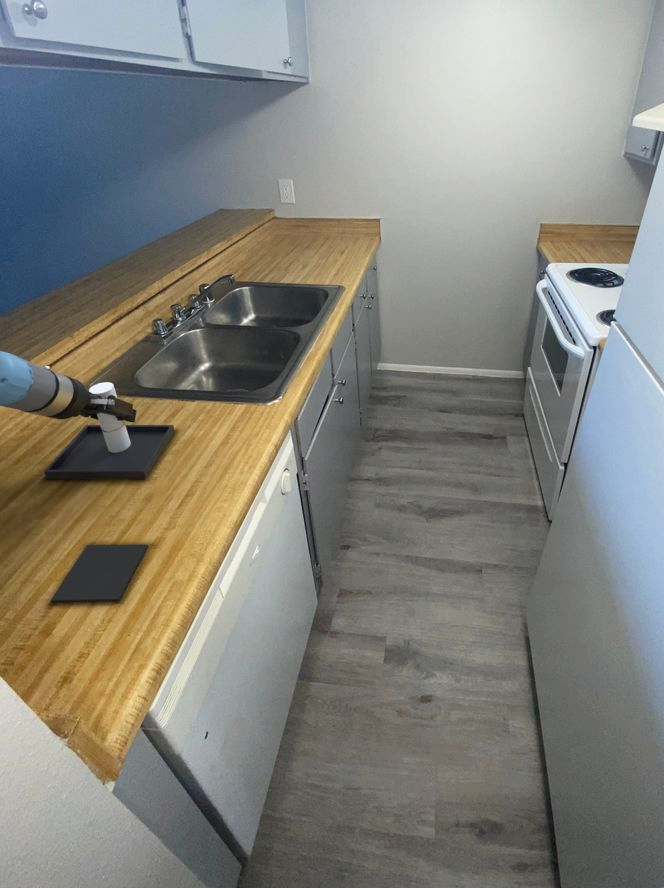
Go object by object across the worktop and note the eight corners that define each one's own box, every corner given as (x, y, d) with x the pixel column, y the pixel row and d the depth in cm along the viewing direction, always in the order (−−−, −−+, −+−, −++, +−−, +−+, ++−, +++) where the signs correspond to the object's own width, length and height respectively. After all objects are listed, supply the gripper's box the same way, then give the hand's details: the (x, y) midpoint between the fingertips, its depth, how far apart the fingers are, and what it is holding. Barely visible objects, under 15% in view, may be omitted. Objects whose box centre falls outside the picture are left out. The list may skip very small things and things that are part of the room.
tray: (46, 479, 94) (43, 471, 93) (88, 431, 107) (86, 424, 106) (145, 478, 95) (143, 471, 94) (175, 431, 108) (173, 424, 107)
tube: (133, 439, 105) (116, 381, 98) (126, 451, 101) (108, 392, 94) (112, 440, 104) (94, 382, 97) (104, 453, 100) (85, 394, 93)
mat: (51, 602, 71) (50, 600, 71) (87, 547, 80) (86, 545, 80) (119, 601, 72) (118, 599, 72) (148, 546, 81) (147, 544, 80)
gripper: (108, 374, 83) (165, 399, 105) (5, 373, 82) (84, 399, 104) (100, 416, 81) (160, 433, 103) (-6, 416, 80) (77, 433, 102)
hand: (122, 416), depth 103 cm, fingers closed on tube, 4 cm apart
